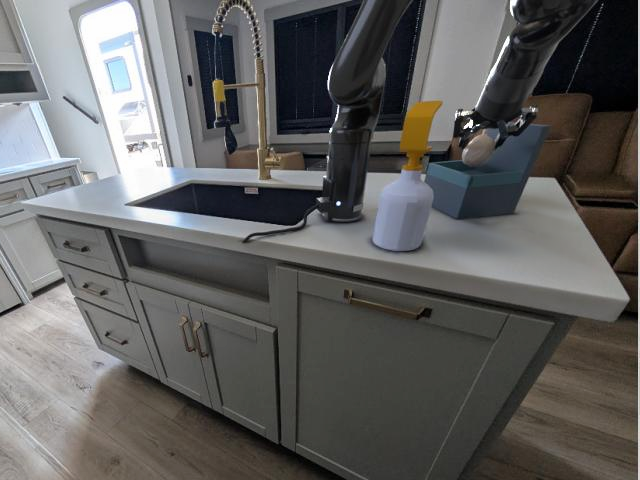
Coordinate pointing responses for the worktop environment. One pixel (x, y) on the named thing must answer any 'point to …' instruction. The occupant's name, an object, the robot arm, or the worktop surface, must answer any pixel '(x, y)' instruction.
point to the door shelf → (487, 177)
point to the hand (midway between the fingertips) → (478, 145)
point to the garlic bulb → (479, 150)
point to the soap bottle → (408, 187)
